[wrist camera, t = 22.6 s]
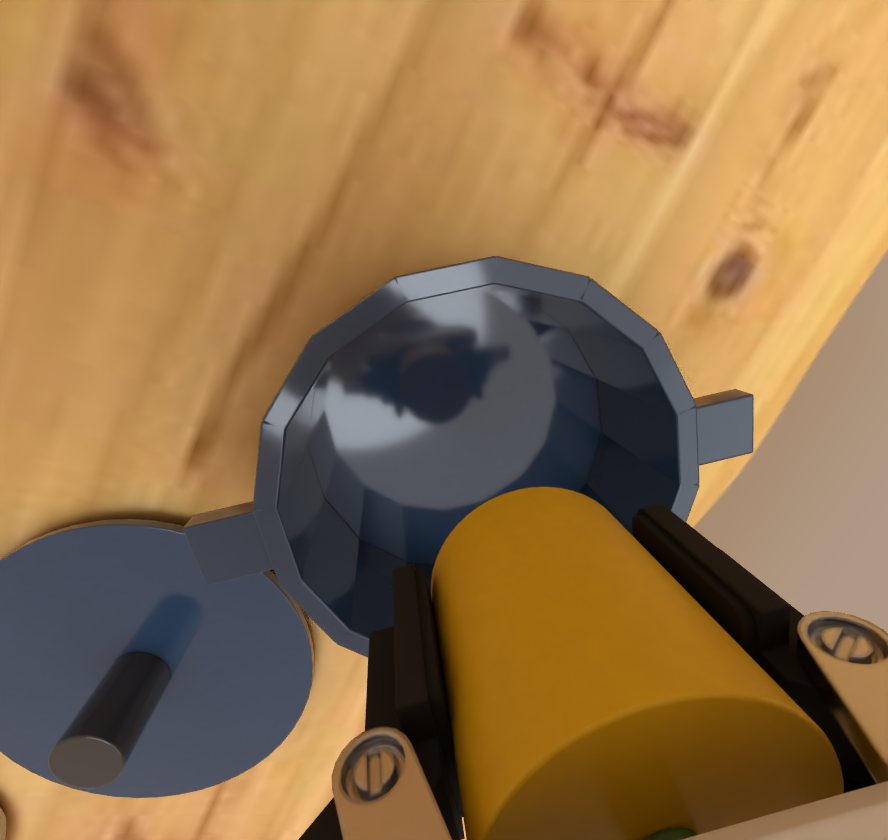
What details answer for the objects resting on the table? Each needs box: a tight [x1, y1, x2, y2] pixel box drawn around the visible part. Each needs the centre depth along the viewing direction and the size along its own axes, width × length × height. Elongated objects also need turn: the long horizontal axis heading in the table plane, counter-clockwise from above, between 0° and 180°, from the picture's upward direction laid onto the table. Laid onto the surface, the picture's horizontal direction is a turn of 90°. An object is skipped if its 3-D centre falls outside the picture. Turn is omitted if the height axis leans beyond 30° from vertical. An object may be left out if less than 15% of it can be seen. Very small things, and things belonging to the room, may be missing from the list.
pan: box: [183, 256, 753, 657], centre depth 20 cm, size 16×21×7 cm
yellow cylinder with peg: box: [431, 487, 844, 840], centre depth 9 cm, size 5×5×7 cm
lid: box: [0, 519, 314, 798], centre depth 22 cm, size 17×17×6 cm
